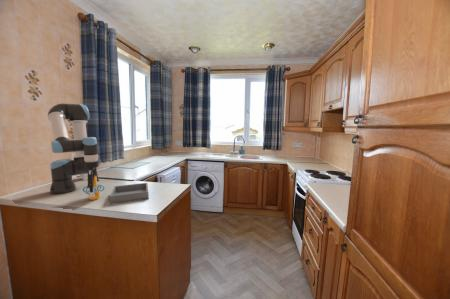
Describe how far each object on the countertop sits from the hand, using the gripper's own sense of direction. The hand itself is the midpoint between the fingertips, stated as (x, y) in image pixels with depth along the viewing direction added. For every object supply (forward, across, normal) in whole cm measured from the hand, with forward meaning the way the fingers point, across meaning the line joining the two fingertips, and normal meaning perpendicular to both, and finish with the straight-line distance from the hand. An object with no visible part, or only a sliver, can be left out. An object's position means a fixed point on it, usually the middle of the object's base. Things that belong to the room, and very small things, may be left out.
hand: (94, 193), depth 133 cm
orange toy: (+3, 0, 0) cm, 3 cm away
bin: (+3, -4, -22) cm, 23 cm away
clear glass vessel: (+4, +63, +17) cm, 65 cm away
